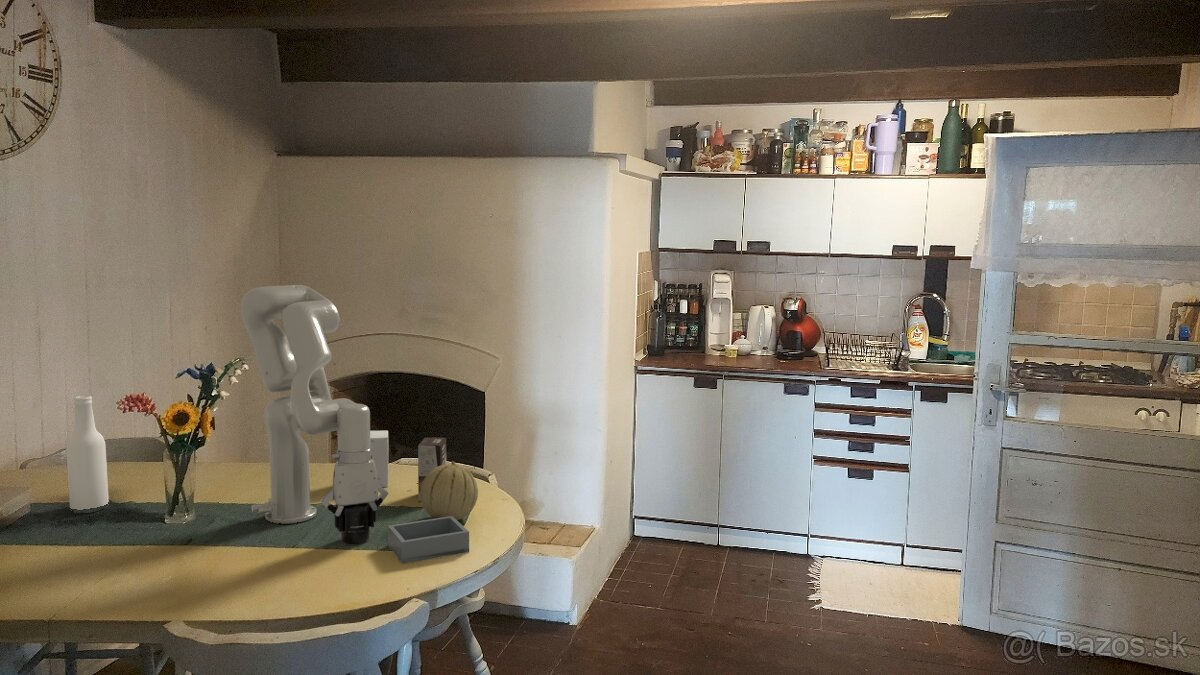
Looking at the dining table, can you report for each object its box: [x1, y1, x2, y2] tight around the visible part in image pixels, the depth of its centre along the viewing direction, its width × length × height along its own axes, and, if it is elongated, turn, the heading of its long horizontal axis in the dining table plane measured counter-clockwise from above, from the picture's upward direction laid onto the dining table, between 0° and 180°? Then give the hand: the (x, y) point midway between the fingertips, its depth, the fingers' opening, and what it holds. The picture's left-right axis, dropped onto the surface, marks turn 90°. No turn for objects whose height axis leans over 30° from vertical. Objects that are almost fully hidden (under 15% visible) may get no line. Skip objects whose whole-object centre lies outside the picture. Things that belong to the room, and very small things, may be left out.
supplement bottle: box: [340, 503, 371, 546], centre depth 209 cm, size 7×7×12 cm
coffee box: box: [417, 437, 447, 502], centre depth 243 cm, size 9×6×16 cm
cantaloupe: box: [420, 460, 479, 521], centre depth 224 cm, size 15×15×15 cm
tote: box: [387, 516, 470, 564], centre depth 205 cm, size 16×12×5 cm
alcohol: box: [65, 394, 110, 510], centre depth 226 cm, size 9×9×30 cm
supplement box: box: [370, 430, 389, 488], centre depth 254 cm, size 9×9×15 cm
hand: (355, 527), depth 210 cm, fingers closed on supplement bottle, 6 cm apart
